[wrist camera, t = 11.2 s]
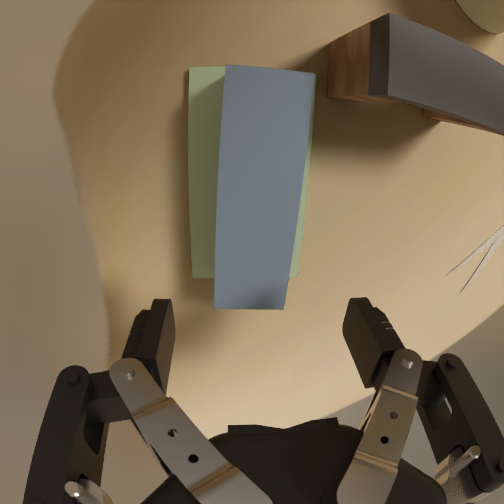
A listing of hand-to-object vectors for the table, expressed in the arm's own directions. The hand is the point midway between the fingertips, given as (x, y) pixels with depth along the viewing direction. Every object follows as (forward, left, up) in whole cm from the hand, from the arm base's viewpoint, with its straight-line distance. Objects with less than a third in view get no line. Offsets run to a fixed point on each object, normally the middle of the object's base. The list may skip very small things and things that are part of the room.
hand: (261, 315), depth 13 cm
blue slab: (-4, 0, -9) cm, 10 cm away
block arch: (-12, +10, -10) cm, 18 cm away
